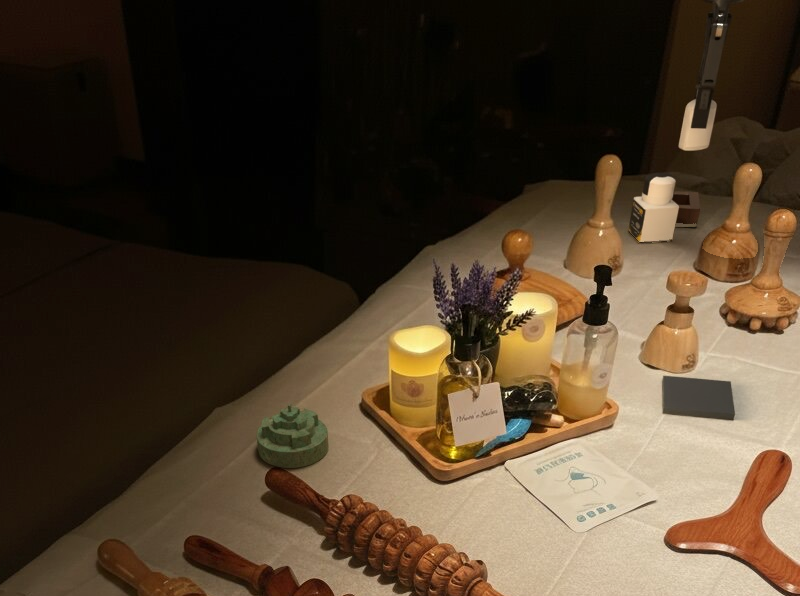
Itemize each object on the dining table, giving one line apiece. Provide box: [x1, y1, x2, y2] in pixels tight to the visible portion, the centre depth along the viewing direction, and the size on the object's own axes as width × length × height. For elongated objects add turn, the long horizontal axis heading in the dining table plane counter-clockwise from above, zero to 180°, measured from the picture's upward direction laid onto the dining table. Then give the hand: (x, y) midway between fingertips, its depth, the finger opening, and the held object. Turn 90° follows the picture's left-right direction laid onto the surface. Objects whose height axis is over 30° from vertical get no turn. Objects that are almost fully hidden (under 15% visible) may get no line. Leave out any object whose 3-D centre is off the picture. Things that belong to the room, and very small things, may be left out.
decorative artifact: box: [256, 403, 330, 469], centre depth 122 cm, size 10×7×10 cm
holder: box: [672, 190, 701, 225], centre depth 188 cm, size 11×11×4 cm
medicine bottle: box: [627, 172, 679, 243], centre depth 178 cm, size 7×7×12 cm
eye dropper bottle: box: [678, 79, 718, 152], centre depth 163 cm, size 4×6×12 cm
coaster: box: [661, 375, 736, 421], centre depth 131 cm, size 10×10×1 cm
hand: (698, 124), depth 164 cm, fingers closed on eye dropper bottle, 4 cm apart
